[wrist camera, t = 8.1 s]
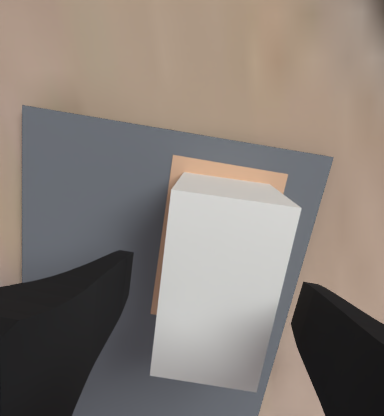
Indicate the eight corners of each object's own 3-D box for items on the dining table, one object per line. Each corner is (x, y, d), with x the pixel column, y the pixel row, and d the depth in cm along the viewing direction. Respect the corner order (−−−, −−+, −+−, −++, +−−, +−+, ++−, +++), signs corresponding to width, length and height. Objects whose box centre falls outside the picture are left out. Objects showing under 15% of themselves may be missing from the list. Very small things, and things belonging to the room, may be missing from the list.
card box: (269, 184, 14) (301, 208, 9) (242, 316, 16) (256, 392, 11) (183, 172, 14) (171, 189, 9) (167, 304, 16) (149, 375, 11)
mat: (241, 458, 20) (242, 469, 19) (27, 418, 20) (21, 427, 19) (328, 156, 14) (334, 157, 14) (29, 106, 14) (21, 105, 14)
